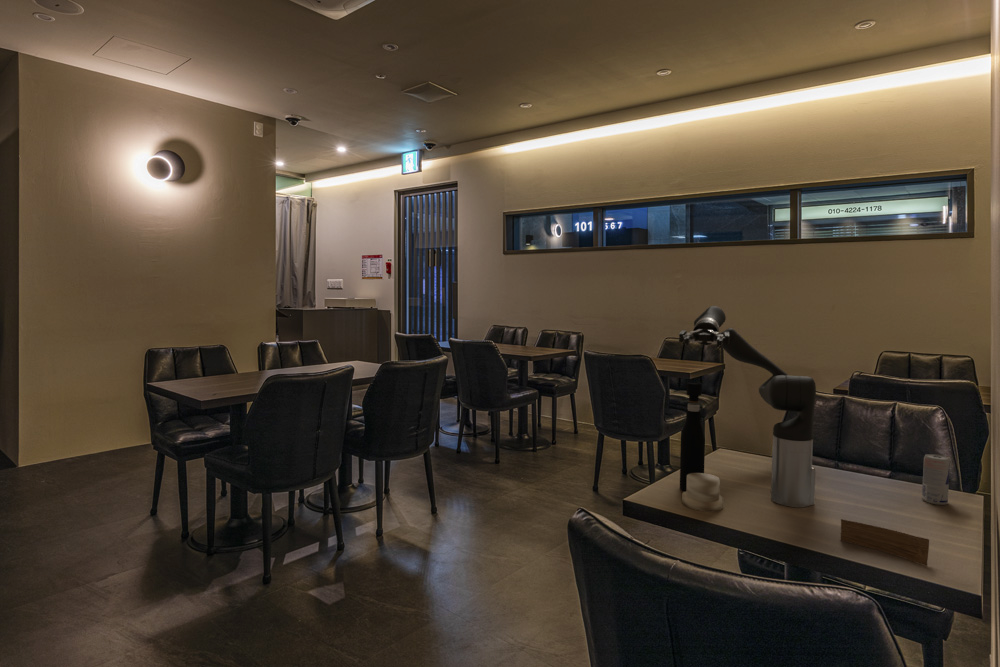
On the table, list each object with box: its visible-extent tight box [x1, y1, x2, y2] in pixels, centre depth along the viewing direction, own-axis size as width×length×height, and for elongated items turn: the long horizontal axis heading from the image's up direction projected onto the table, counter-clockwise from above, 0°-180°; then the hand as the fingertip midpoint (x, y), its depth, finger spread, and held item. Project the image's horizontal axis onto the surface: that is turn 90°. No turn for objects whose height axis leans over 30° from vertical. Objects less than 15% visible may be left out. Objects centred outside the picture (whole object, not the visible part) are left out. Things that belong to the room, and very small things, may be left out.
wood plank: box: [840, 518, 930, 567], centre depth 116 cm, size 15×2×5 cm, turn 46°
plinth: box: [681, 472, 724, 512], centre depth 143 cm, size 10×10×7 cm
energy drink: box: [921, 453, 951, 506], centre depth 145 cm, size 5×5×12 cm
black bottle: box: [679, 381, 706, 492], centre depth 153 cm, size 6×6×30 cm
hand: (702, 342), depth 161 cm, fingers open, 8 cm apart
